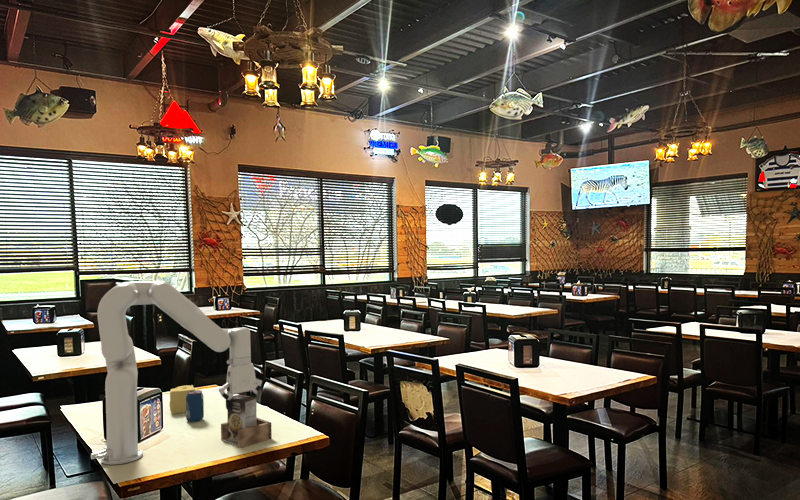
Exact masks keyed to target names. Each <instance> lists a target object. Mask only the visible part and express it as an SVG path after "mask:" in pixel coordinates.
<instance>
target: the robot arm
mask: <svg viewBox="0 0 800 500" xmlns="http://www.w3.org/2000/svg"><path fill="white" fill-rule="evenodd" d="M138 305H140V306H143V305H155V306H156V307H158V308H159V309H160V310H161V311H163V312H164V313H165V314H166V315H168V316H169V317H170V318H171V319H173V320H174V321H175V322H176V323H177V324H179V325H180V326H181V327H183V329H185V330H187V331H188V332H190V333H191V334H193V336H195V337H196V338H197V339H199V341H201V342H202V343H203V344H205V345H206V347H208V348H210V349H211V350H213V351H214V352H216V353H222V352H225V351H227V350H228V349H229V357H228V358H229V359H227V361H226V364H227V365H228V367H227V373H226V383H224V384H223V385H222V386H220V387H219V388H218V392H219V394H220V396H221V397H223V398H224V400H225V408H226V411H228V410H229V411H232V410H233V404H232V400H231V398H232V396H235V395H239V394H244V393H247V392H250V393H249V396H252V397H256V398H257V394H258V391H260V389H261V386H262V383H263V380H261V379H258V378H256V371H255V366H254V363H252V361H251V360H252V358H251V357H252V355H251V354H252V353H251V350H252V349H251V346H252V345H251V331H250V330H251V329H250V328H248V327H242V326H241V327H240V326H239V327H233V328H221V327H220V326H219V325H218V324H216V323H215V322H214V321H213V320H212V319H210V317H209V316H207V315H206V314H205V313H204V311H202V310H201V308H199V307H198V305H196V304H195V303H194V302H193V301H191V300H190V299H189V298H187V297H186V296H185V295H184V294H183V293H181V292H180V291H179V290H178V289H176V288H175V287H174V286H173V285H172V284H170V282H168V281H165V280H154V281H153V280H152V281H123V282H121V283H118V284H117V285H115V286H113V287H112V288H111V289H109V290H108V291H107V292H106V293H105V294H104V295H103V297H101V299H100V301H99V303H98V307H97V312H96V313H97V322H98V323H97V324H98V331H99V338H100V346H101V347H100V349H101V350H100V351H101V354H102V356H103V358H104V360H105V365H106V371H107V374H106V377H105V382H104V383H105V385H104V387H105V388H104V391H105V414H106V415H105V417H106V418H105V419H106V421H105V422H106V423H105V424H106V446H103V449H101V450H100V451H96V452H92V453H90V459H91V460H94V459H97V460H101V463H102V464H105V465H122V464H127V463H128V464H129V463H132V462H134V461H137V460H139V459H141V458H142V457H143V454H144V452H143V451H144V450H142V449H141V448H140V449H139V448H138V447H139V443H138V442H139V440H138V439H139V438H138V432H139V431H138V428H139V427H138V374H139V371H138V365H137V359H136V354H135V353H136V352H135V349H134V348H135V347H134V342H133V339H132V337H131V336H130V335H129V329H128V325H127V324H128V322H127V318H126V312H127V310H128V309H129V308H130V307H131V306H138ZM225 390H226V391H225Z"/></svg>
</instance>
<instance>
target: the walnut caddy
mask: <svg viewBox="0 0 800 500" xmlns="http://www.w3.org/2000/svg"><path fill="white" fill-rule="evenodd" d="M220 439H221V441H223V442H224V443H227V444H230V445H232V446H235V447H236V446H237V448H239V449H241V448H245V447H248V446H251V444H252V445H254V444H258V443H261V442H265V441H268V439H269V440H272V439H273V438H272V422H271V421H268V420H265V419H264V418H263V419H262V418H259V417H257V416H256V426H253V427H249V428H245V429H241V430H238V443H235V442H231V441H228V421H226V422H223V423H220ZM244 446H245V447H244Z"/></svg>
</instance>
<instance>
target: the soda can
mask: <svg viewBox="0 0 800 500" xmlns="http://www.w3.org/2000/svg"><path fill="white" fill-rule="evenodd" d="M204 402H205V401H204V393H203V390H199V389H198V390H196V389H195V391H189V392H188V393H187V396H186V412H185V419H186V421H187V422H188V423H192V424H193V423H199V422H201V421H202V420H203V419H204V417H205V416H204V415H205V411H204V408H205V405H204V404H205V403H204Z"/></svg>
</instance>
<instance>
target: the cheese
mask: <svg viewBox="0 0 800 500" xmlns="http://www.w3.org/2000/svg"><path fill="white" fill-rule="evenodd" d="M169 390H170V393H169V410H170V413H171V415H174V414H181V413H186V396H187V393H188V392H189V391H195V390H196V389H195V387H194V385H193V384H191V385H190V384H189V385H187V384H186V385H181V386H177V387H175V388H171V389H169Z"/></svg>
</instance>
